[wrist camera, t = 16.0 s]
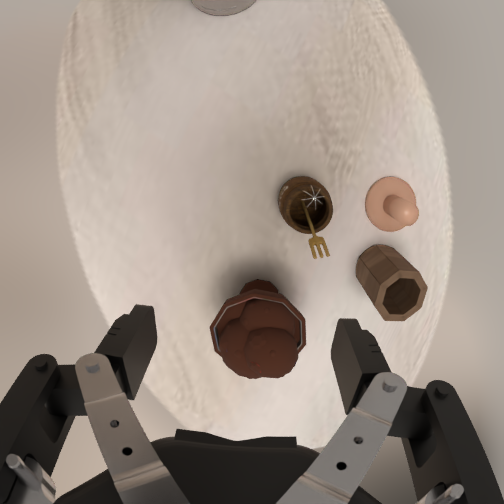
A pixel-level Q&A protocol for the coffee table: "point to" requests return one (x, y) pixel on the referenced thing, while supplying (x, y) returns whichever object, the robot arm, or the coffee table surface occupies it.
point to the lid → (391, 204)
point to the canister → (390, 282)
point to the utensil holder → (306, 209)
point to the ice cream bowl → (259, 332)
